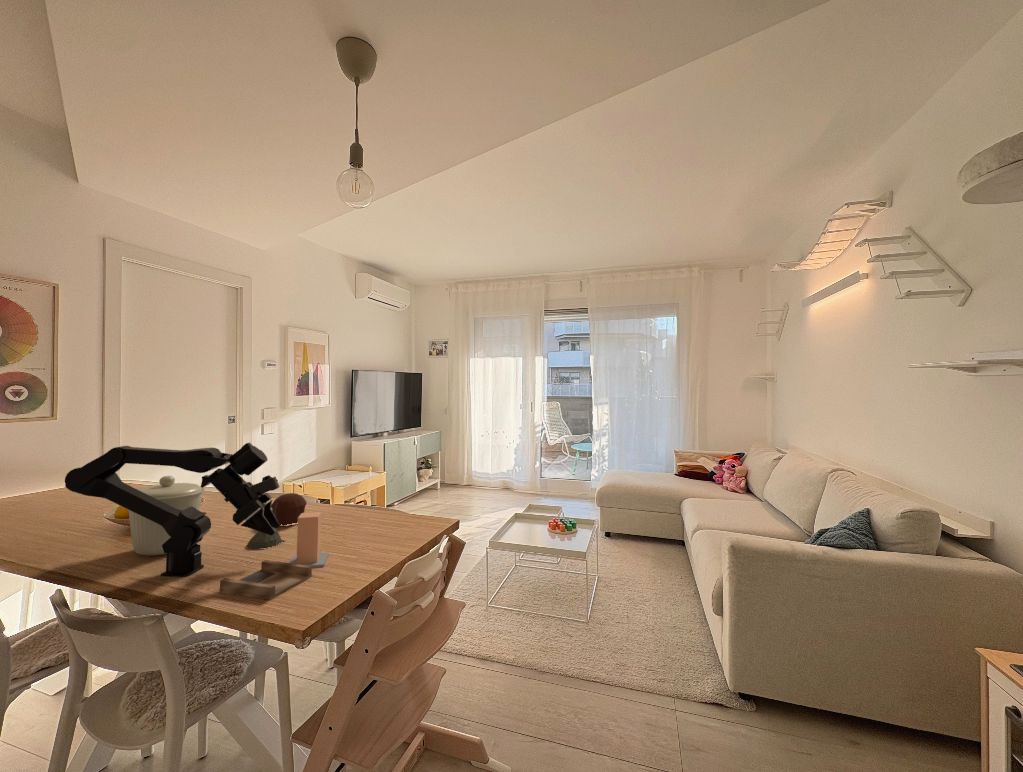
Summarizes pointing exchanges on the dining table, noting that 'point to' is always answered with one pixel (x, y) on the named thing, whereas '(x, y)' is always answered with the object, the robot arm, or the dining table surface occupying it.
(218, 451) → the robot arm
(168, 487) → the canister
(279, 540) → the sword in stone
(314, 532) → the terracotta block
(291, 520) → the muffin
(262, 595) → the walnut channel
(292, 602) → the dining table surface
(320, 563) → the slate mat
